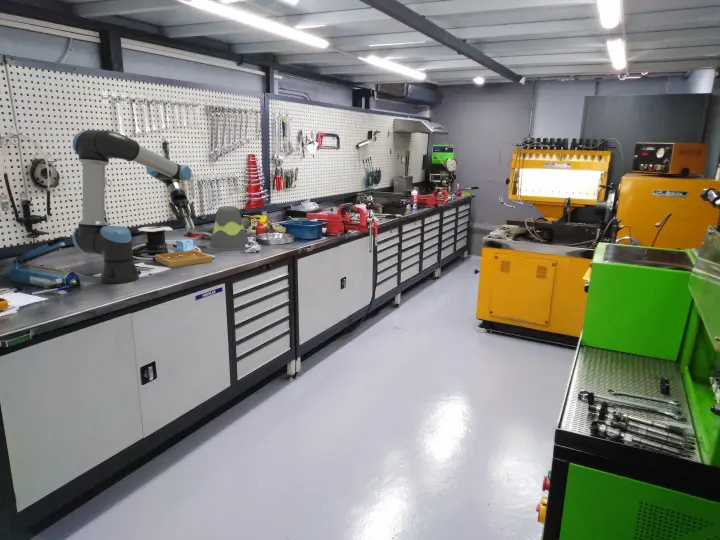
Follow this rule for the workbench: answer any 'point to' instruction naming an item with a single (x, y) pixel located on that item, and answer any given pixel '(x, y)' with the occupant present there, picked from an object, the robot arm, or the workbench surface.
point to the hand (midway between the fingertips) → (191, 229)
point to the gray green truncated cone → (228, 230)
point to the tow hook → (189, 233)
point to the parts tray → (183, 258)
